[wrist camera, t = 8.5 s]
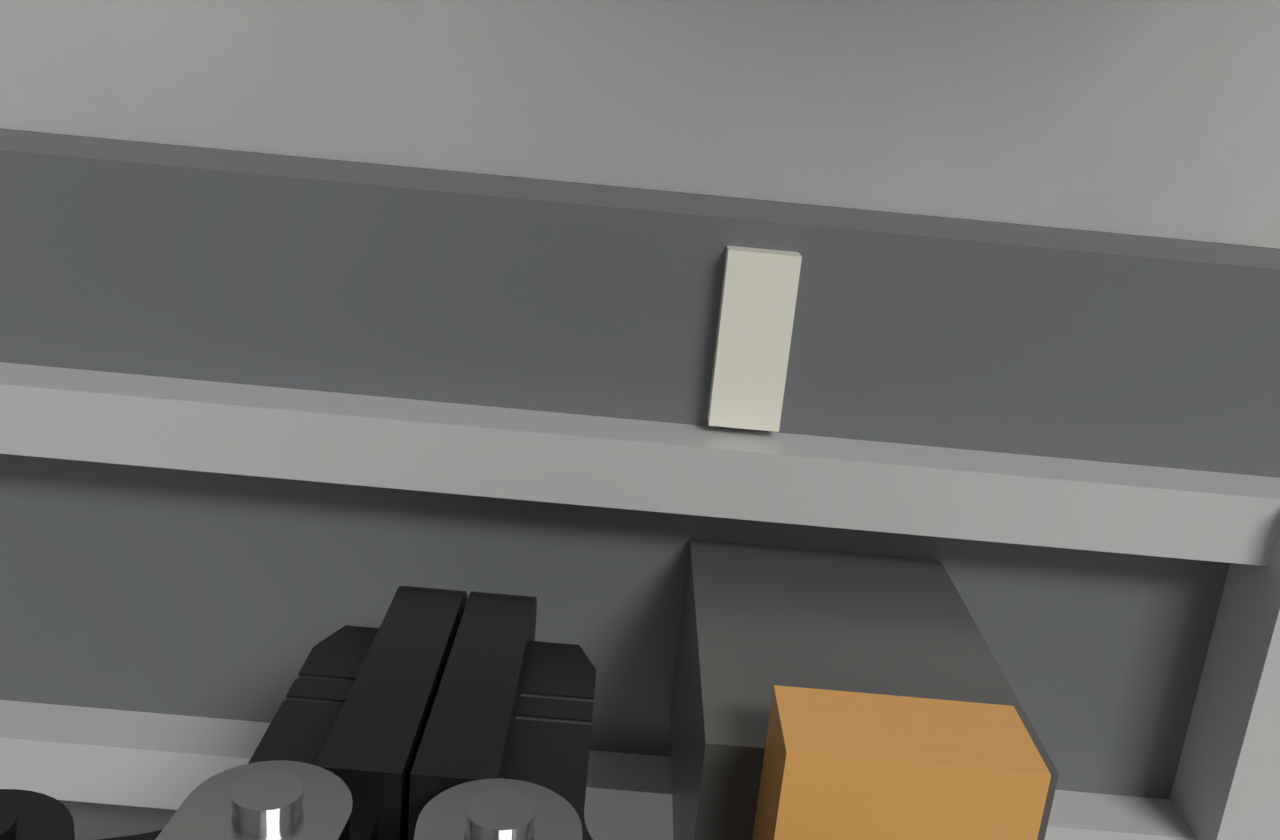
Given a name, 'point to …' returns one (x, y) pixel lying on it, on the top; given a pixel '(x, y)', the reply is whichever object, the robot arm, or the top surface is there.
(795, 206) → the console board
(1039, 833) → the fader tab
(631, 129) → the top surface
